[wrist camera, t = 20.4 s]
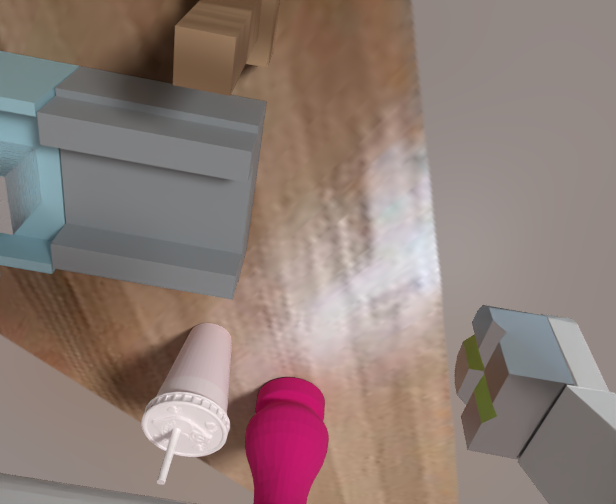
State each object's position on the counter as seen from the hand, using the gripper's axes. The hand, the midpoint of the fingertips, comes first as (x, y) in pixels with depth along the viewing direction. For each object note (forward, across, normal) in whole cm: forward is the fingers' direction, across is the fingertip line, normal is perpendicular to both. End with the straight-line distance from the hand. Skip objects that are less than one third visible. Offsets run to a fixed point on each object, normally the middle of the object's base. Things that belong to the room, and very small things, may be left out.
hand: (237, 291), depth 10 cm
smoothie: (+29, +4, +30) cm, 42 cm away
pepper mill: (+29, -4, +36) cm, 46 cm away
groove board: (+29, +8, +14) cm, 33 cm away
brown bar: (+29, +4, +2) cm, 29 cm away
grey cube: (+25, +17, +14) cm, 33 cm away
